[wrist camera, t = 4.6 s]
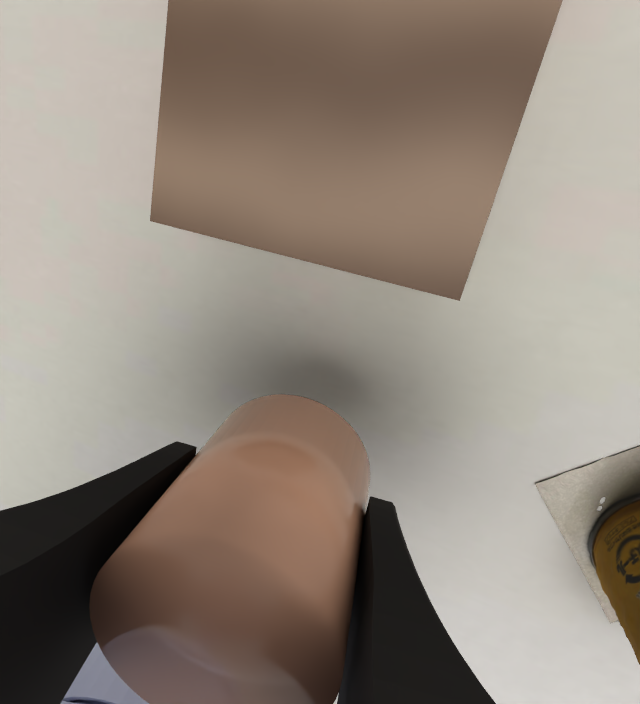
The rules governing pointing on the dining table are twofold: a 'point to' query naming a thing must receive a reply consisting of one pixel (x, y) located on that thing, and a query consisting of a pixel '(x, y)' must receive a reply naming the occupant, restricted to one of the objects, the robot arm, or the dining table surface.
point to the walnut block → (345, 127)
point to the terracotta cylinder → (243, 565)
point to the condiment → (604, 532)
